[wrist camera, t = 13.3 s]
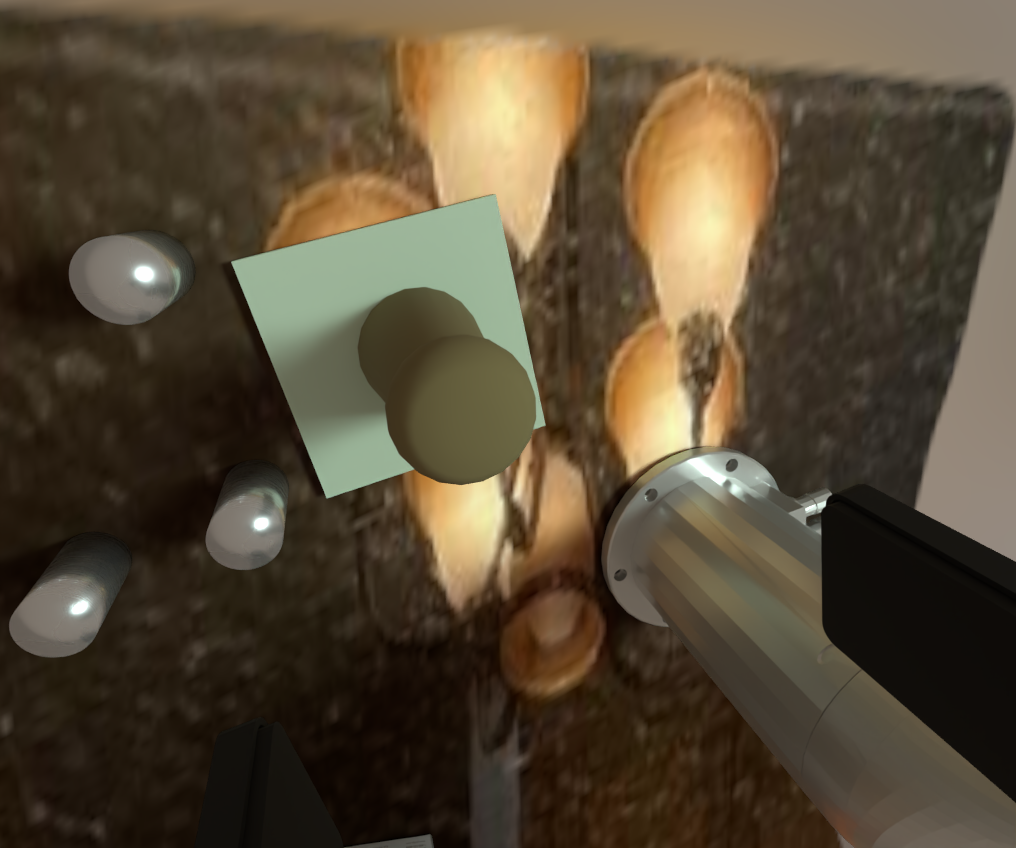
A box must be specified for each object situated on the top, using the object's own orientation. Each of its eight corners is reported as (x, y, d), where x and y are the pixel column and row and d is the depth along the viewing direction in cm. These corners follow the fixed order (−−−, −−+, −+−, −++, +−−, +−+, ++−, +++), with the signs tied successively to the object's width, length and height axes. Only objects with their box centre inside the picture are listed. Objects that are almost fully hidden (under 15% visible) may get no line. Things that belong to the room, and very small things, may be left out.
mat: (492, 194, 28) (495, 194, 27) (541, 421, 33) (545, 425, 32) (233, 260, 26) (231, 261, 25) (326, 493, 31) (326, 498, 30)
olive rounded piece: (340, 304, 27) (351, 364, 17) (466, 273, 28) (544, 312, 18) (378, 423, 30) (406, 535, 20) (493, 389, 31) (574, 479, 21)
